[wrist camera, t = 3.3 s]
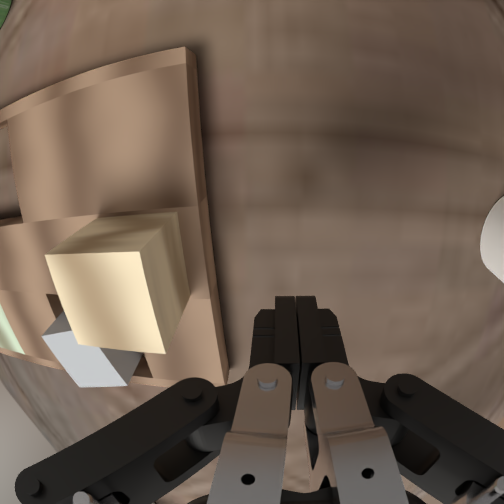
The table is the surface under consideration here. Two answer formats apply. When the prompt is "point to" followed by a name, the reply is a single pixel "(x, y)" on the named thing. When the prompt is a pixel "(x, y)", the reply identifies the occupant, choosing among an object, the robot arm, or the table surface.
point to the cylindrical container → (494, 240)
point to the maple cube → (123, 281)
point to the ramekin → (4, 10)
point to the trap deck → (110, 199)
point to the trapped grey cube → (89, 358)
